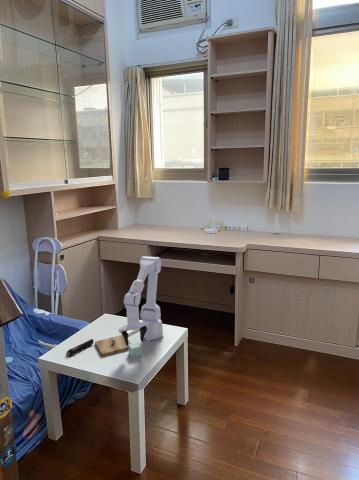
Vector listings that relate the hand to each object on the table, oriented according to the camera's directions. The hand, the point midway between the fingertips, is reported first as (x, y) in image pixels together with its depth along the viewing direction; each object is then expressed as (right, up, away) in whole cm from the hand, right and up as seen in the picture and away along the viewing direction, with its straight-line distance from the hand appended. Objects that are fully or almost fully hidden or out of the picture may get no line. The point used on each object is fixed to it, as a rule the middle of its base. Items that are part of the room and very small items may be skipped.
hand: (134, 342), depth 173 cm
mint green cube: (0, -6, +1) cm, 6 cm away
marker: (-2, -1, +26) cm, 27 cm away
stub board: (-12, -5, +10) cm, 16 cm away
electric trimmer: (-29, -6, +7) cm, 30 cm away
